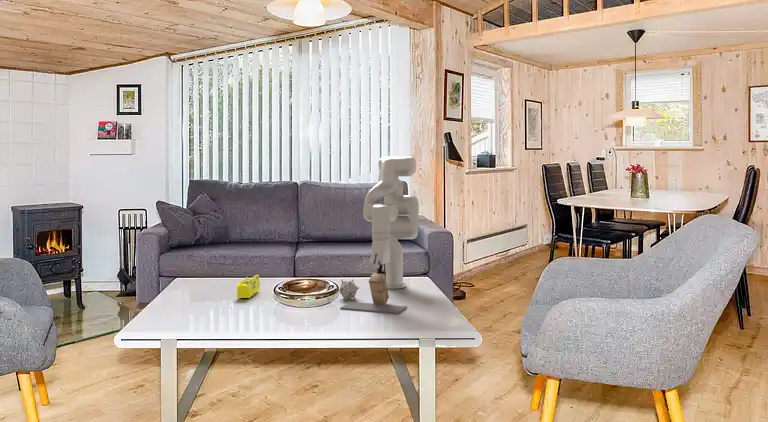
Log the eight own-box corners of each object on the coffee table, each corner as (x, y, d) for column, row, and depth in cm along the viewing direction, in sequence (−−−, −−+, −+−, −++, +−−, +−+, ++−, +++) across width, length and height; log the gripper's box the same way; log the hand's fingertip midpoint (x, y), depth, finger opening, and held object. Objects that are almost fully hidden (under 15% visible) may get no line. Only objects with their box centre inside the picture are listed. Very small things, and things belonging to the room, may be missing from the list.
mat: (351, 303, 240) (351, 301, 240) (407, 307, 231) (407, 306, 231) (340, 309, 230) (340, 307, 230) (398, 314, 222) (398, 312, 221)
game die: (351, 308, 246) (355, 292, 240) (333, 300, 247) (336, 284, 241) (359, 294, 253) (363, 278, 246) (341, 286, 254) (345, 270, 248)
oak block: (377, 296, 241) (372, 273, 235) (389, 297, 240) (384, 273, 234) (373, 304, 237) (368, 280, 231) (385, 305, 236) (380, 281, 230)
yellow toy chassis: (250, 300, 246) (249, 280, 245) (236, 300, 247) (236, 280, 246) (260, 292, 262) (260, 273, 261) (248, 291, 262) (247, 273, 262)
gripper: (379, 233, 245) (379, 277, 246) (365, 237, 231) (365, 283, 232) (396, 234, 242) (396, 278, 243) (383, 238, 228) (383, 285, 229)
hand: (381, 281), depth 238 cm, fingers closed
